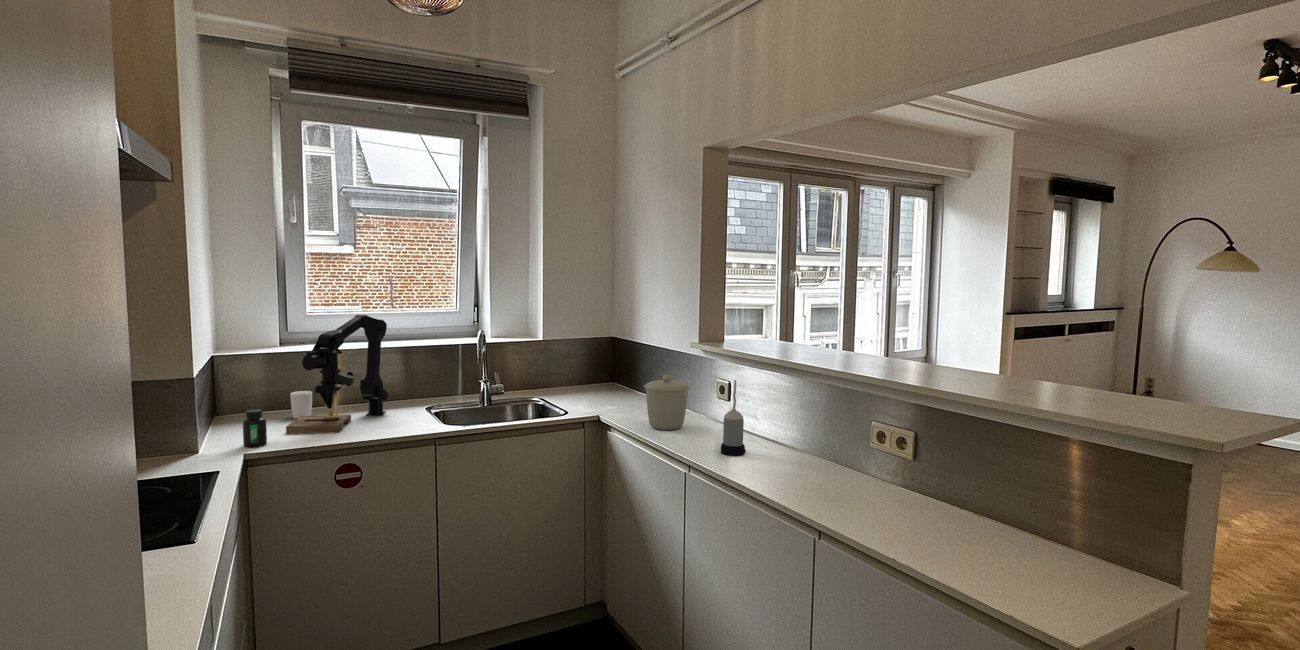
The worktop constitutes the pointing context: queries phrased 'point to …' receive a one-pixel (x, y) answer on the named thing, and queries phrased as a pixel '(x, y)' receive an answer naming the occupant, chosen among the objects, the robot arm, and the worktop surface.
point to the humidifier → (733, 431)
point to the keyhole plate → (317, 424)
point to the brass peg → (331, 409)
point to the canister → (666, 403)
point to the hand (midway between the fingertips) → (331, 407)
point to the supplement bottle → (254, 429)
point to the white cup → (301, 403)
